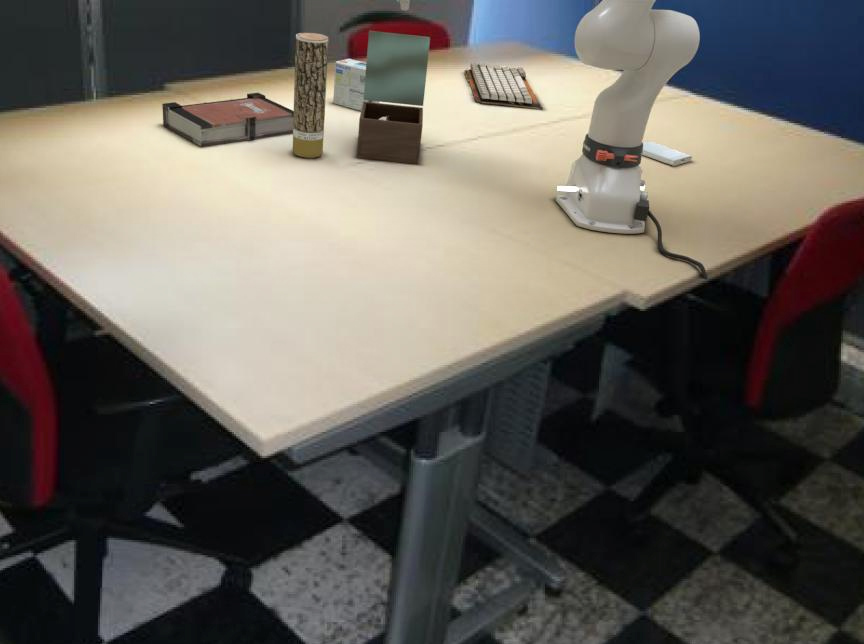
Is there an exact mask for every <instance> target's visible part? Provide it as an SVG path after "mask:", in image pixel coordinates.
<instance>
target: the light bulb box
mask: <svg viewBox="0 0 864 644" xmlns="http://www.w3.org/2000/svg"><path fill="white" fill-rule="evenodd" d="M366 63H367V62H366V61H365V62H364V61H360V60H356V59H352V58H346V59H342V60H341V59H340V60H337V61H335V63H334V81H333V82H334V83H333V98H332V99H333V101H332V102H333V103H332V104H335V105H338V106H342V107H344V108H345V107H346V108H350V109H353V110H357V111H360V112H361V110H362V105H363V102H373V103H380V102H379V101H369V100H363V99H364V87H365V75H366Z"/></svg>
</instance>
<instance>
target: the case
mask: <svg viewBox="0 0 864 644" xmlns="http://www.w3.org/2000/svg"><path fill="white" fill-rule="evenodd" d="M387 116H389V117H388V120H389V121H387V120H378V119H380V118H382V117H387ZM386 119H387V118H386ZM423 120H424V107H422V106H412V105H402V104H393V103H383V102H379V103H373V102H363V105H362V110H361V111H360V115H359V119H358V132H357V133H358V134H357V147H356V158H357V159H365V160H375V161H387V162H395V163H404V164H405V163H406V164H415V165H418V164H420V163H419V161H420V154H421V142H422V134H423V125H424V123H423V122H424V121H423Z"/></svg>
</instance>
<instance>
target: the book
mask: <svg viewBox="0 0 864 644" xmlns="http://www.w3.org/2000/svg"><path fill="white" fill-rule="evenodd" d="M161 107H162V108H161V109H162V125H163V127H165V128H167V129H168V130H170V131H172V132H174V133H176V134H178V135H179V136H180V137H184V138H185V139H186V140H188V141H189V142H192V143H194V144H195V145H197V146H198V147H200V148H203V147H210V146H215V145H216V146H217V145H222V144H228V143H229V144H230V143H235V142H243V141H254V140H256V139H262V138H270V137H276V136H281V135H282V136H283V135H288V134H289V135H290V134H293V115H294V109H290V108H288V107H286V106H284V105H281V104H280V103H277V102H276V101H273V100H272V99H270V98H266V95H264V94H262V93H260V92H251V93H246V97H243V98H233V99H226V100H217V101H209V102H200V103H193V104H183V105H182V104H180V103H177V102H175V101H173V102H165V103H162V104H161Z"/></svg>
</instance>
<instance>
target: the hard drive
mask: <svg viewBox="0 0 864 644" xmlns="http://www.w3.org/2000/svg"><path fill="white" fill-rule="evenodd" d="M642 143H643V154H642V156H644V157H648V158H650V159H652V160H656V161H659V162H661V163H665V164H667V165H670V166H672V167H676V166H680V165H682V164H686V163H690V162H691V161H692V159H693V156H692V155H690V154H688V153H684V152H682V151H680V150H676V149H674V148H671V147H668V146H665V145H663V144H659V143H657V142H653V141H651V140H649V141H645V142H642Z"/></svg>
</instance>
